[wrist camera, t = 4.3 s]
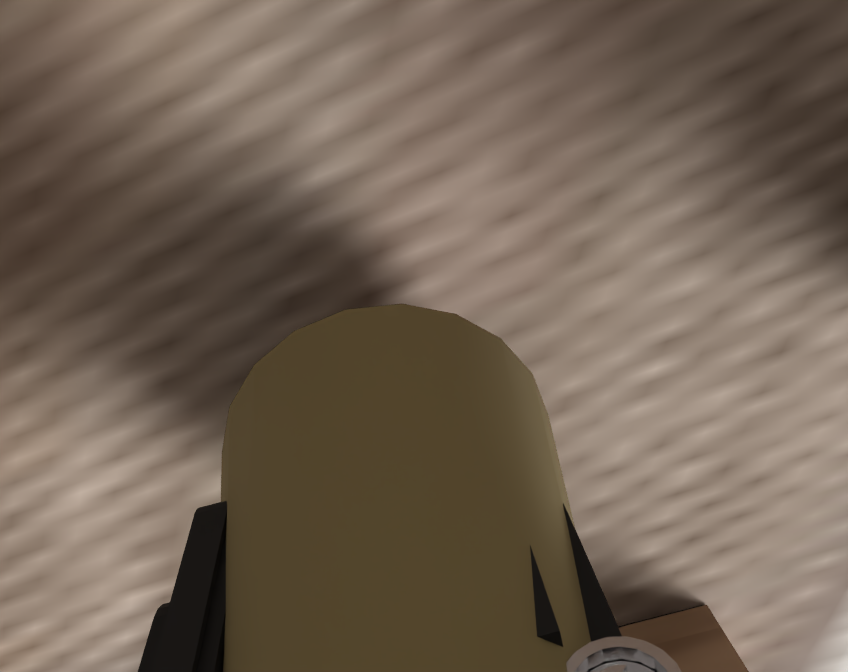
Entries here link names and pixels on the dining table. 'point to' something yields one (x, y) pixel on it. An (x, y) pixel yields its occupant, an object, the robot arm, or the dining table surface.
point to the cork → (394, 504)
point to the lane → (690, 640)
